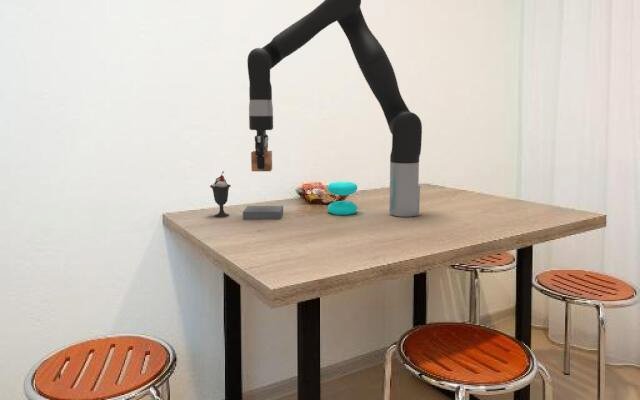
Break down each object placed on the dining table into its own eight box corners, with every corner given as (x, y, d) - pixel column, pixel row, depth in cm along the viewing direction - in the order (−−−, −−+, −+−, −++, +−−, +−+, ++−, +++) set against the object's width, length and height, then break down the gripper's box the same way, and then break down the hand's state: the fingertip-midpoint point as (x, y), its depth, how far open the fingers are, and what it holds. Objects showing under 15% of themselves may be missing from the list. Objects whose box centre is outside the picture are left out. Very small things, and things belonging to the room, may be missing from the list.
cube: (272, 169, 159) (271, 150, 158) (270, 171, 153) (270, 152, 152) (254, 169, 159) (253, 150, 158) (251, 171, 153) (251, 152, 152)
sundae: (227, 218, 157) (225, 171, 154) (208, 217, 158) (206, 171, 155) (235, 213, 163) (233, 169, 160) (216, 213, 164) (214, 169, 162)
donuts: (336, 186, 155) (322, 182, 164) (336, 216, 157) (322, 211, 166) (362, 184, 159) (348, 180, 168) (362, 213, 161) (348, 208, 170)
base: (283, 214, 164) (283, 205, 163) (280, 220, 154) (280, 211, 154) (247, 214, 164) (247, 205, 163) (243, 221, 154) (242, 211, 154)
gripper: (270, 114, 146) (271, 170, 149) (274, 114, 160) (275, 165, 163) (245, 114, 146) (247, 170, 149) (252, 114, 160) (253, 165, 163)
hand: (262, 167), depth 156 cm, fingers closed on cube, 6 cm apart
